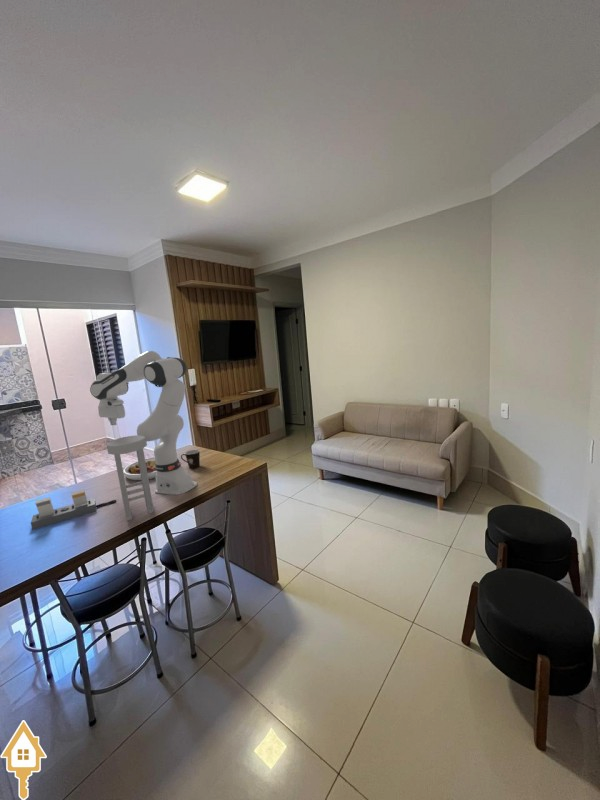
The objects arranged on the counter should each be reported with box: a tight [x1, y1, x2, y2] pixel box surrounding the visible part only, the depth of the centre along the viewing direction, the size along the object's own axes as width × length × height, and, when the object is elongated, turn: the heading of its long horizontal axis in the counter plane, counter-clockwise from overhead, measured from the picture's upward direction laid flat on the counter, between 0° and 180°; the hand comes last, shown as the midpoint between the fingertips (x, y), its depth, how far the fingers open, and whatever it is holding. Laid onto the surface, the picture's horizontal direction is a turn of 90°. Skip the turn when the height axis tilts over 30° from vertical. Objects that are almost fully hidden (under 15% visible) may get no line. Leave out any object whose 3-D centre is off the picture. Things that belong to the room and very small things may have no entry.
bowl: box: [123, 456, 157, 481], centre depth 196 cm, size 30×30×8 cm
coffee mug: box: [180, 449, 201, 470], centre depth 199 cm, size 12×9×10 cm
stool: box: [106, 434, 155, 521], centre depth 144 cm, size 16×16×35 cm
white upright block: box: [71, 489, 88, 507], centre depth 148 cm, size 5×2×8 cm, turn 124°
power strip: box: [30, 497, 117, 531], centre depth 150 cm, size 33×8×5 cm, turn 124°
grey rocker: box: [35, 496, 54, 516], centre depth 142 cm, size 5×2×8 cm, turn 124°
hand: (113, 425), depth 180 cm, fingers closed
